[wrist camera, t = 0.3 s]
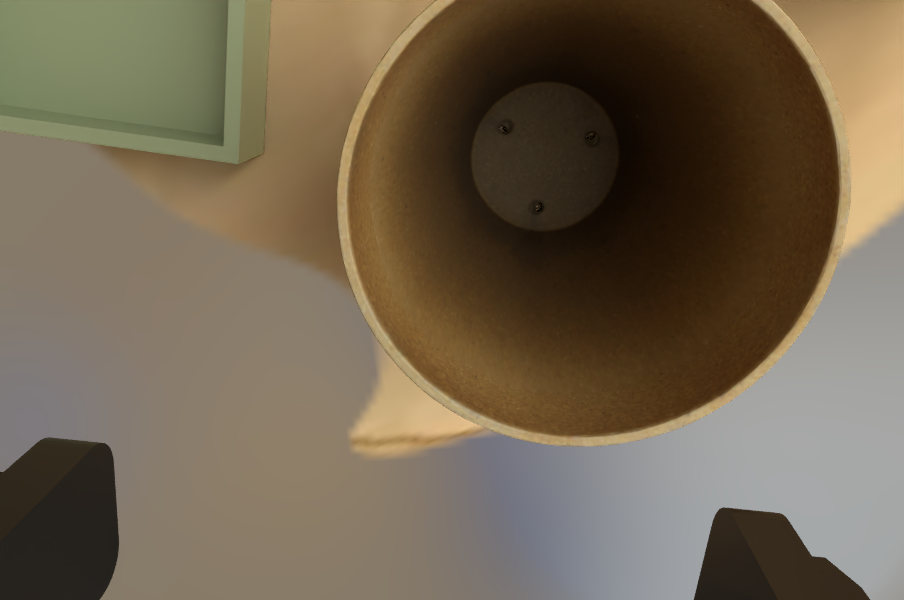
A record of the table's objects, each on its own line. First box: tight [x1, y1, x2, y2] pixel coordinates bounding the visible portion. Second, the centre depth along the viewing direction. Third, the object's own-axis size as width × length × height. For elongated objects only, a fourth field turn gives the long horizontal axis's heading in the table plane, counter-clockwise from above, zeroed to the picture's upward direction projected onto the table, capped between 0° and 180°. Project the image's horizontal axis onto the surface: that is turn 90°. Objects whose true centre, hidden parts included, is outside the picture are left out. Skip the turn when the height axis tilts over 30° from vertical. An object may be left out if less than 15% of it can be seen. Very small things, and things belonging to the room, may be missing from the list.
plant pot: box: [336, 0, 851, 446], centre depth 29 cm, size 15×15×16 cm
